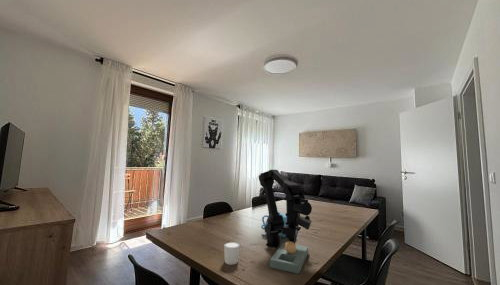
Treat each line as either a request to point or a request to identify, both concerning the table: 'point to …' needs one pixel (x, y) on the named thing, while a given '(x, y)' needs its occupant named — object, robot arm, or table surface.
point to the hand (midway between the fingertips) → (293, 244)
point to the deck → (289, 259)
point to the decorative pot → (283, 220)
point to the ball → (290, 247)
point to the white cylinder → (231, 252)
